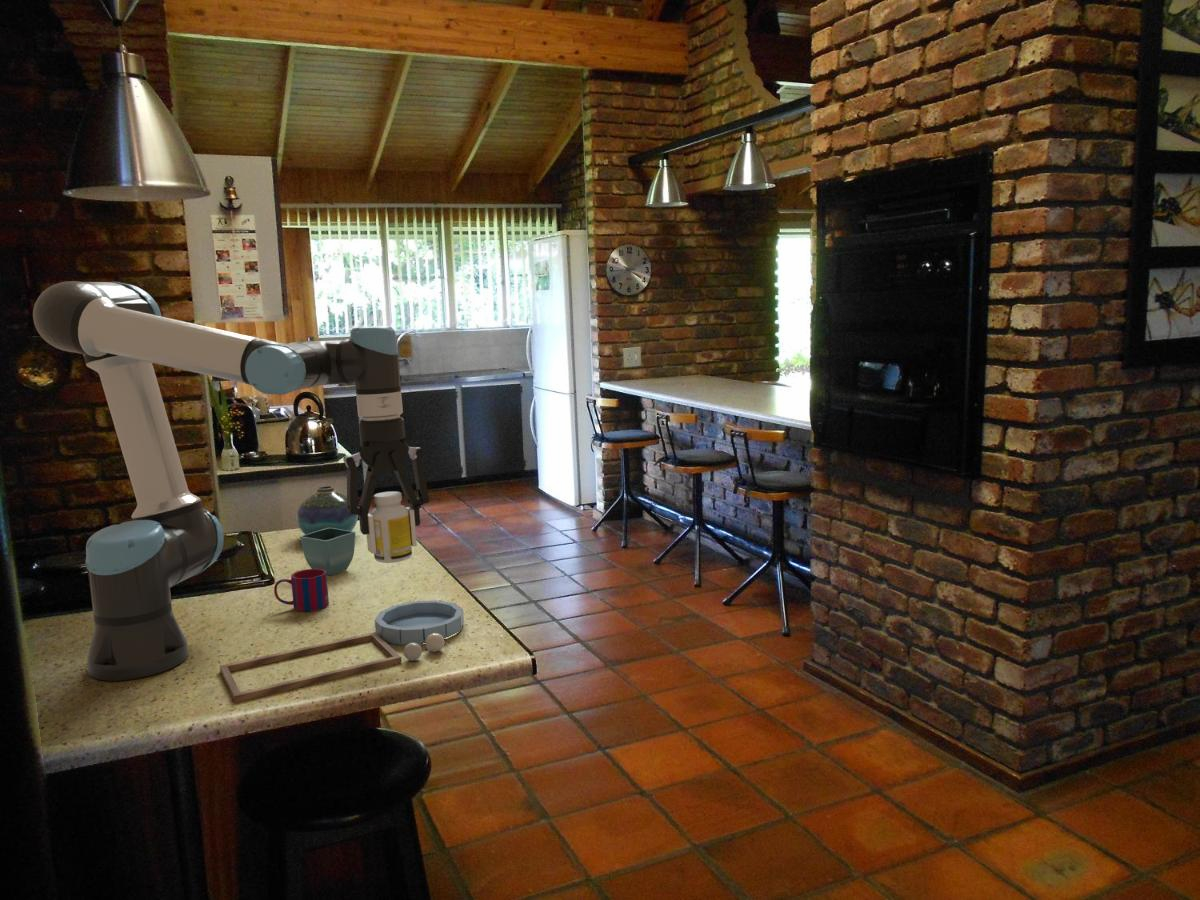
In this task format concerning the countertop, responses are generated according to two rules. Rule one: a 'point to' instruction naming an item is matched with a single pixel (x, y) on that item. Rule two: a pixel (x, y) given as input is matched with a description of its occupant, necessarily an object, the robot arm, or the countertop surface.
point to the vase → (325, 511)
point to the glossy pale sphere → (412, 651)
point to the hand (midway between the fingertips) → (392, 547)
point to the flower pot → (329, 549)
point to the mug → (307, 590)
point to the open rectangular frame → (308, 680)
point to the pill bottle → (391, 528)
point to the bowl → (418, 621)
